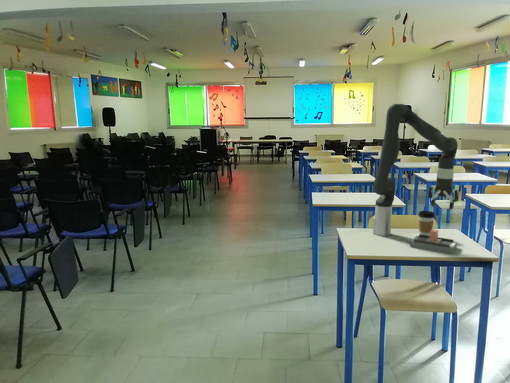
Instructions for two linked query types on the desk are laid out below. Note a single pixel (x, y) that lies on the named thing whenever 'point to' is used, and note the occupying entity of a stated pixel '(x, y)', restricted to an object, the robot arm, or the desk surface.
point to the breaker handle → (434, 236)
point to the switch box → (434, 244)
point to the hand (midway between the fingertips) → (442, 207)
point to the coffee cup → (425, 222)
